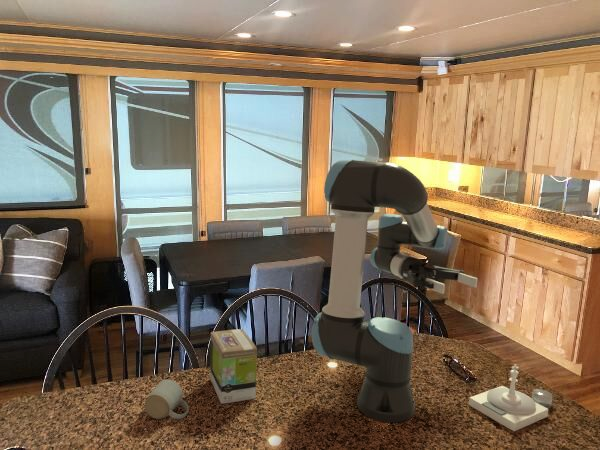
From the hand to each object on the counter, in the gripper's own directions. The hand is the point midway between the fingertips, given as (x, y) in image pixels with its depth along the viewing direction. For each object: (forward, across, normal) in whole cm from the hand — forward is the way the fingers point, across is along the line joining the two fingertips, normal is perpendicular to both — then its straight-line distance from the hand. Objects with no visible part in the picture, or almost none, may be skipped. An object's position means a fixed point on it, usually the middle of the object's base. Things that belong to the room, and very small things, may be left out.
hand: (460, 286), depth 142 cm
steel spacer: (+20, -14, -30) cm, 39 cm away
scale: (+18, -2, -30) cm, 35 cm away
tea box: (-27, +58, -30) cm, 71 cm away
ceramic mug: (-24, +77, -30) cm, 86 cm away
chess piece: (+18, -3, -27) cm, 33 cm away
